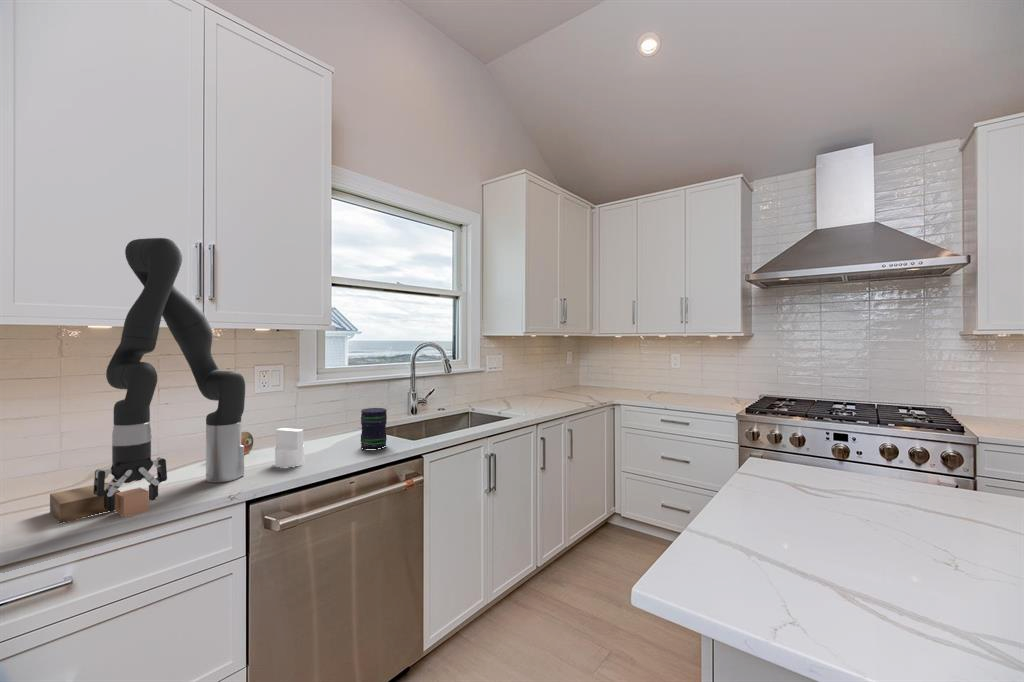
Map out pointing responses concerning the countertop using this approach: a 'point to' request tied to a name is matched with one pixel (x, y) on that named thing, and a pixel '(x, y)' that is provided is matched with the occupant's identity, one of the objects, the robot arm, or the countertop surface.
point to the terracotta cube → (131, 501)
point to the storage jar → (373, 428)
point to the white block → (289, 447)
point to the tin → (246, 441)
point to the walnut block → (77, 503)
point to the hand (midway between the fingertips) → (132, 505)
